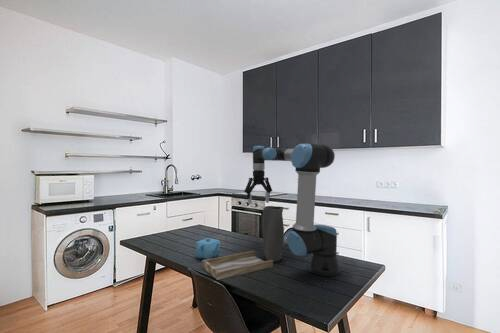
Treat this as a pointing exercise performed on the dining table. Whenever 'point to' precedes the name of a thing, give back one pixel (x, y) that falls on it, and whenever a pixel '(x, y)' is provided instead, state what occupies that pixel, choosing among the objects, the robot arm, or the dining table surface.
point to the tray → (235, 265)
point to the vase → (273, 232)
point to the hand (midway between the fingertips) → (258, 203)
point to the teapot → (207, 248)
